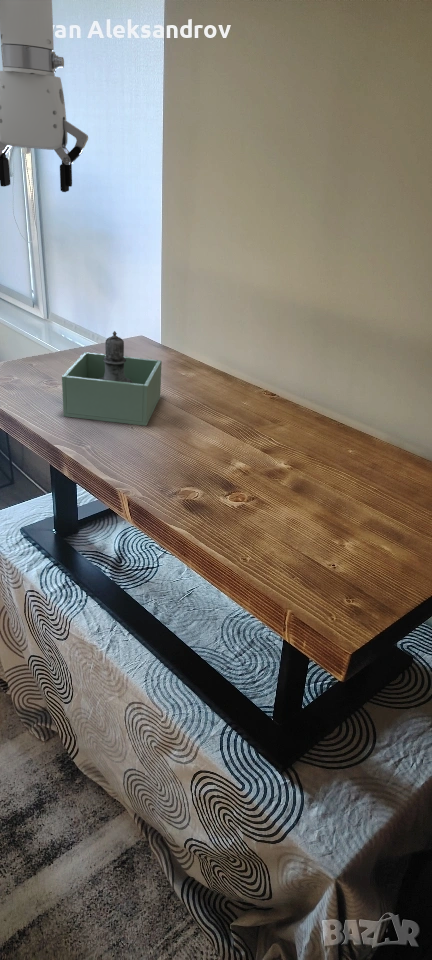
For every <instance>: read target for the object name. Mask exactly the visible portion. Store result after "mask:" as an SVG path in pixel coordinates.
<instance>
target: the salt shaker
mask: <svg viewBox="0 0 432 960" xmlns="http://www.w3.org/2000/svg"><path fill="white" fill-rule="evenodd" d="M117 334H118V333H117V332H116V331H115V330H114V331H113V332H112V336H109V337H107V338H106V340H105V343H104V345H105V350H104V351H105V353H104V354H106V357H105V358H103V361H104V362H105V374H104V377H102V378H99V379H100V380H109V381H118V382H127V383H133V382H132V381H131V380H130V379H128V378H126V377H125V374H124V363H125V362H126V359H125V358H124V356H125V342H124V339H123V338H122V337H120V336H118V335H117Z"/></svg>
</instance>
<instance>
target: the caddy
mask: <svg viewBox="0 0 432 960" xmlns="http://www.w3.org/2000/svg"><path fill="white" fill-rule="evenodd" d="M105 357H106V353H98V352H97V353H96V352H87V351H84V352H83V353H82V354H81V355H80V356H79V357H78V358H77V359H76V361H75V362H74V363H73V364H72V365H71V366H70V367H69V368H68V369H67V370H66V372H64V374H62V376H61V388H62V410H63V413H62V415H63V417H67V418H75V419H84V420H92V421H100V422H101V421H102V422H109V423H118V424H126V425H127V424H129V425H135V426H143V427H147V426H148V423H149V422H150V420H151V417H152V415H153V413H154V411H155V409H156V407H157V405H158V402H159V401H160V398H161V391H162V390H161V387H162V363H163V362H162V360H159V359H152V358H142V357H133V356H125V355H124V358H125V359H126V362H125V363H124V374H125V377H126V378H128V379H130V380H131V381H132V382H133V383H127V382H118V381H109V380H100V379H99V378H102V377H104V374H105V362H104V361H103V358H105Z"/></svg>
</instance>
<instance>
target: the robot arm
mask: <svg viewBox="0 0 432 960" xmlns="http://www.w3.org/2000/svg"><path fill="white" fill-rule="evenodd" d="M53 17H54V15H53V0H0V45H1V46H0V49H1V50H0V51H1V63H2V64H1V65H2V70H0V187H8V186H10V185H11V172H10V170H11V169H10V160H9V158H8V157H7V154H8V152H9V151H10V150H11V148H12V147H15V148H16V147H17V148H25V149H27V148H28V149H35V150H36V149H37V150H49V151H51V150H52V151H54V152H55V153H56V155H57V156H58V157H59V159H60V160H61V163H60V164H59V184H60V187H59V188H60V191H61V192H62V193H66V192H69V191H70V188H71V187H72V186H73V164H74V163H75V161H76V160H77V159H78V158H79V157H80V156H81V155H82V154H83V151H84V149H85V147H86V145H87V142H88V141H89V135H88V133H86V132H84V131H82V130H81V129H79V128H78V127H76V126H75V125H73V124H72V123H71V122H69V121H68V120H67V114H66V113H67V111H66V102H65V95H64V87H63V84H62V78H61V77H59V76H56V74H55V73H57V69H59V68H61V69H62V68H64V67H65V59H64V57H63V56H59V55H57V54H56V51H55V49H54V46H55V45H54V20H53V19H54V18H53ZM68 134H69V135H71V136H72V137H74V139H75V140H76V142H75V145H74V147H73V148H72V149H70V151H69V150H68V148H67V146H68V139H69V138H68Z"/></svg>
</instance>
